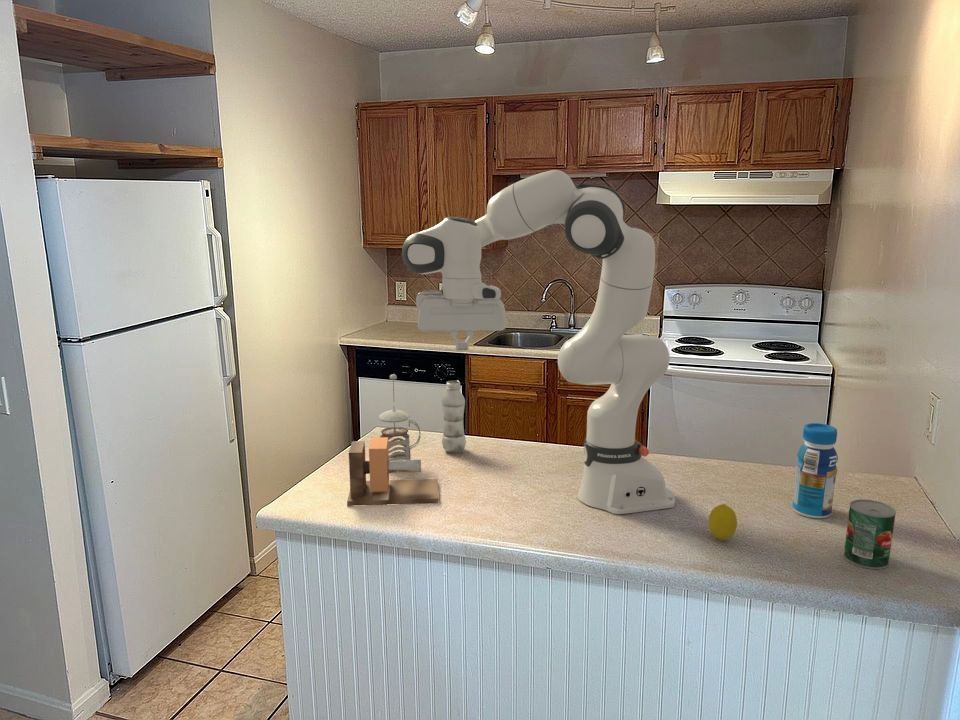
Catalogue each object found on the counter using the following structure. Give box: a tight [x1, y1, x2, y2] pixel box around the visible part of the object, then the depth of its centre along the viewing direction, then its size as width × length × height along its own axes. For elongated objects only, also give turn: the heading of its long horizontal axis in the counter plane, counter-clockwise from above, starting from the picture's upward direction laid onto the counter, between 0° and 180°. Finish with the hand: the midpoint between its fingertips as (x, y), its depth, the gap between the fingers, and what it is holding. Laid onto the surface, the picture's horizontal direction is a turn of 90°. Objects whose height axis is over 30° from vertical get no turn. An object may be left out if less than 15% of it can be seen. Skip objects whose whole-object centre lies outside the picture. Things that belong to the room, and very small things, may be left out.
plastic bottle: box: [441, 380, 467, 453], centre depth 198 cm, size 6×7×20 cm
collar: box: [368, 437, 390, 492], centre depth 169 cm, size 4×8×10 cm, turn 4°
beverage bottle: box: [791, 422, 839, 519], centre depth 159 cm, size 8×8×20 cm
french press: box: [378, 373, 421, 460], centre depth 187 cm, size 10×12×25 cm
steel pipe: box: [364, 459, 422, 475], centre depth 169 cm, size 15×3×3 cm, turn 94°
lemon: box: [708, 503, 738, 541], centre depth 147 cm, size 6×6×8 cm
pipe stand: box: [346, 440, 440, 507], centre depth 169 cm, size 21×12×12 cm, turn 94°
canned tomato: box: [843, 498, 897, 570], centre depth 139 cm, size 8×8×11 cm
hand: (462, 349), depth 164 cm, fingers closed
